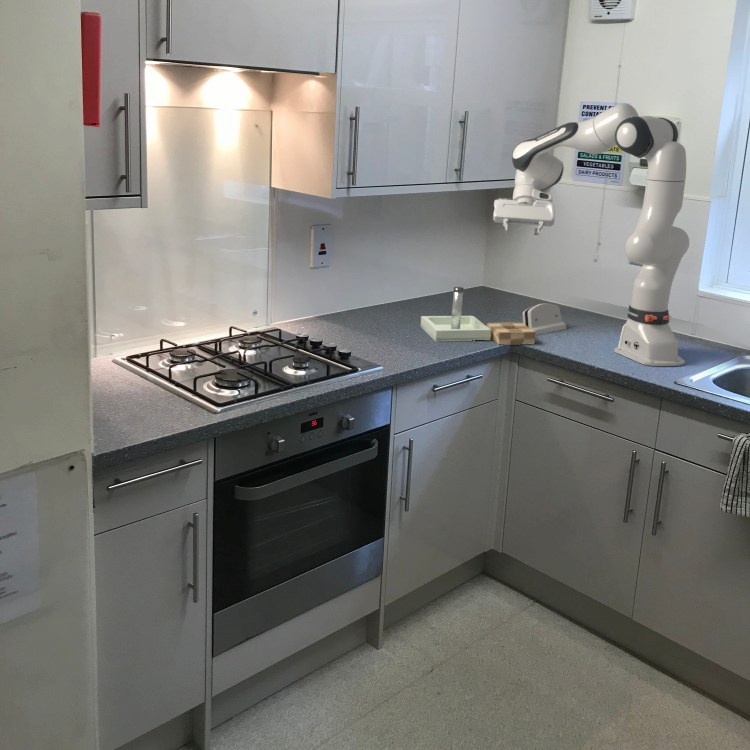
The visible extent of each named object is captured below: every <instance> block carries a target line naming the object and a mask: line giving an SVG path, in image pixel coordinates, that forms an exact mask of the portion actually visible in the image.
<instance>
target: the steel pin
mask: <svg viewBox="0 0 750 750" xmlns="http://www.w3.org/2000/svg"><path fill="white" fill-rule="evenodd" d="M464 289H465V288H464V287H461V286H455V287H453V297H452V310H451V316H452V320H451V329H460V324H461V316H462V311H463V300H464V299H463V297H464V291H465V290H464Z"/></svg>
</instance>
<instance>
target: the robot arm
mask: <svg viewBox="0 0 750 750" xmlns="http://www.w3.org/2000/svg"><path fill="white" fill-rule="evenodd" d="M678 139H679V130H678V127H677V126H676V124H675V123H674V122H673V121H671V119H667V118H666V117H655V116H650V115H641V116H640V115H639V113H638V112H637V110H636V108H635V107H634V106H633V105H631V104H629V103H626V102H625V103H623V102H622V103H619V104H616V105H614V106H612V107H610V108H607V109H605V110H604V111H602V112H600V113H598V114H597V115H595V116H594V117H592V118H588V119H585V120H582V121H575V122H572V121H570V122H567V123H563V124H562V125H559V126H557V127H555V128H553V129H551V130H549V131H546V132H544V133H543V134H540V135H539V136H536V137H533V138H530V139H525V140H524V141H521V142H520V143H518V144H517V145H516V146H515V147H514V149H513V150H512V154H511V160H512V165H513V168H514V169H516V172H515V175H514V188H513V194H512V198H511V197H508V198H507V197H499V198H495V200H494V202H493V207H494V210H493V214H492V215H493V216H492V220H493V222H494V223H498V224H502V225H503V227H504V229H505V234H510V233H511V225H525V226H537V227H534V233H533V235H534V236H539V235H540V232H541V231H542V229H543V228H544V227H552V226H554V224H555V218H556V214H555V205H554V203H553V196H552V195H551V194H549V193H547V192H544V191H541V190H546V189H549V188H551V187H554V186H556V185H557V184H558V183H559V182H560V181H561V179H562V177H563V174H564V168H565V167H564V163H563V161H562V160H560V159H559V158H558V157H556V156H555V155H553V154H552V153H551V152H550V151H552V150H554V149H556V148H559V147H568V148H572V149H576V150H577V151H578V150H579V151H581V152H583V153H586V154H590V155H599V154H603V153H606V152H608V151H610V150H611V149H613V148H614V147H616V146H617V148H618V149H619V150H621V151H623V152H625V153H627V154H628V155H630V156H631V155H632V156H634V157H635V158H638V159H642V158H644V159H645V160H646V162H647V172H646V179H645V181H646V182H645V186H644V187H645V189H644V196H643V203H642V207H641V211H640V214H639V216H638V220H637V221H636V222H637V223H636V225H635V227H634V230H633V232H632V233H631V235H630V236H629V237H628V239H626V242H625V247H624V248H625V249H624V250H625V254H626V256H627V258H628V260H629V261H631V263H634V264H637V265H640V266H642V267H641V269H640V271H639V273H638V275H637V276H636V277H635V278H634V281H633V284H632V285H633V286H632V290H631V291H632V292H631V300H630V304H629V305H628V308H627V321H626V322H625V323H624V324H623V326H622V329H621V332H620V336H619V342H618V345H617V347H615V348H614V349H613V350H614V353H616V354H619V355H621V356H623V357H625V358H627V359H630V360H632V361H634V362H636V363H640V364H642V365H645V366H651V367H653V366H654V367H676V366H683V365H685V364H686V363H685V362H686V361H685V360H684V359H683V358H682V357H681V356H680V355H678V354H679V344H680V339H679V338H677V337H676V336H675V334H674V332H673V330H672V328H671V326H670V324H669V323H670V320H671V315H670V314H669V311H670V310H669V309H668V308H669V303H670V295H671V289H672V284H673V281H674V280H675V276H676V274H677V271H678V268H679V266H680V263H681V260H682V258H684V255H686V253H687V252H688V250H689V248H690V237H689V235H688V233H687V232H686V231H685V229H682V228H680V227H677V226H674V225H673V224H674V222H675V220H676V218H677V216H678V214H679V213H680V211H681V210H682V207H683V201H684V195H685V186H686V180H687V179H686V177H687V151H686V148H685V147H684V145H682V144H681V143H680V142H678ZM508 224H511V225H508Z"/></svg>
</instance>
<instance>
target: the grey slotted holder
mask: <svg viewBox="0 0 750 750" xmlns="http://www.w3.org/2000/svg"><path fill="white" fill-rule="evenodd" d="M522 323H523V324H525V325H526V326H528V327H529V328H530V329H532V330H533V331H535V332H536V334H540V333H545V332H551V331H556V330H561V331H563V330H562V329H566V330H567V324H566V323H565V322H564V321H563V317H562V314H561V310H560V306H559V305H557V304H555V303H547V302H545V303H538V304H534V305H532V306H529V307H528V308H526V309H525V310H524V311H522ZM556 332H557V331H556ZM551 333H552V332H551Z"/></svg>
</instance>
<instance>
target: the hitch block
mask: <svg viewBox="0 0 750 750" xmlns="http://www.w3.org/2000/svg"><path fill="white" fill-rule="evenodd" d="M486 326H487V327H488V328H489V329H490V330H491V337H490V340H492V339H493V340H494V341H495V342H497V343H498V344H504V345H503V346H516V345H517V346H521V345H520V344H522V343H524V344H526V343H536V336H535V335H536V332H535V331H533V330H532V329H530V328H529V327H528V326H526V325H525V324H523V321H522V322H521V321H519V322H487V323H486ZM493 340H492V341H493ZM494 341H493V342H494ZM495 342H494V343H495ZM497 343H496V344H497ZM498 344H497V345H498Z"/></svg>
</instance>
